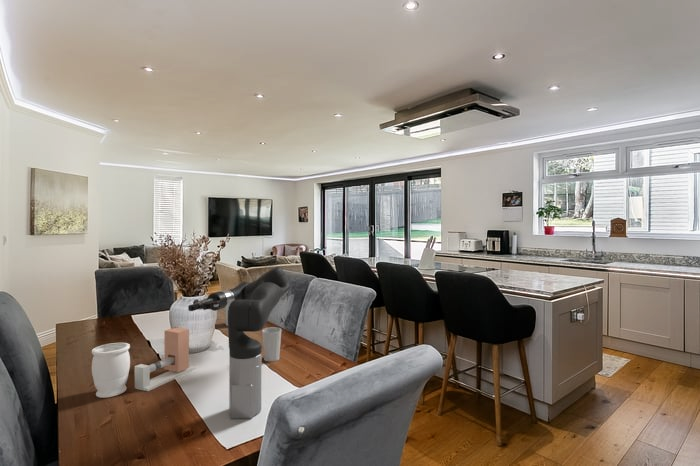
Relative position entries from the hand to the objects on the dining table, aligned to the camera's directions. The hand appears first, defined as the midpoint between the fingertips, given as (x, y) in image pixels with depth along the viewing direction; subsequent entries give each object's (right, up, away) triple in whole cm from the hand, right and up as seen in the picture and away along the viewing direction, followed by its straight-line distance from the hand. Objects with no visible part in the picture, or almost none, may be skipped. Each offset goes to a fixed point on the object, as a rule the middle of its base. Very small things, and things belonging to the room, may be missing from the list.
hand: (189, 308), depth 143 cm
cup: (+30, -23, +10) cm, 39 cm away
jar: (-16, -23, -22) cm, 36 cm away
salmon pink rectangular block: (-3, -21, -5) cm, 22 cm away
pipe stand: (-4, -23, -10) cm, 25 cm away
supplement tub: (-2, -22, +61) cm, 65 cm away
